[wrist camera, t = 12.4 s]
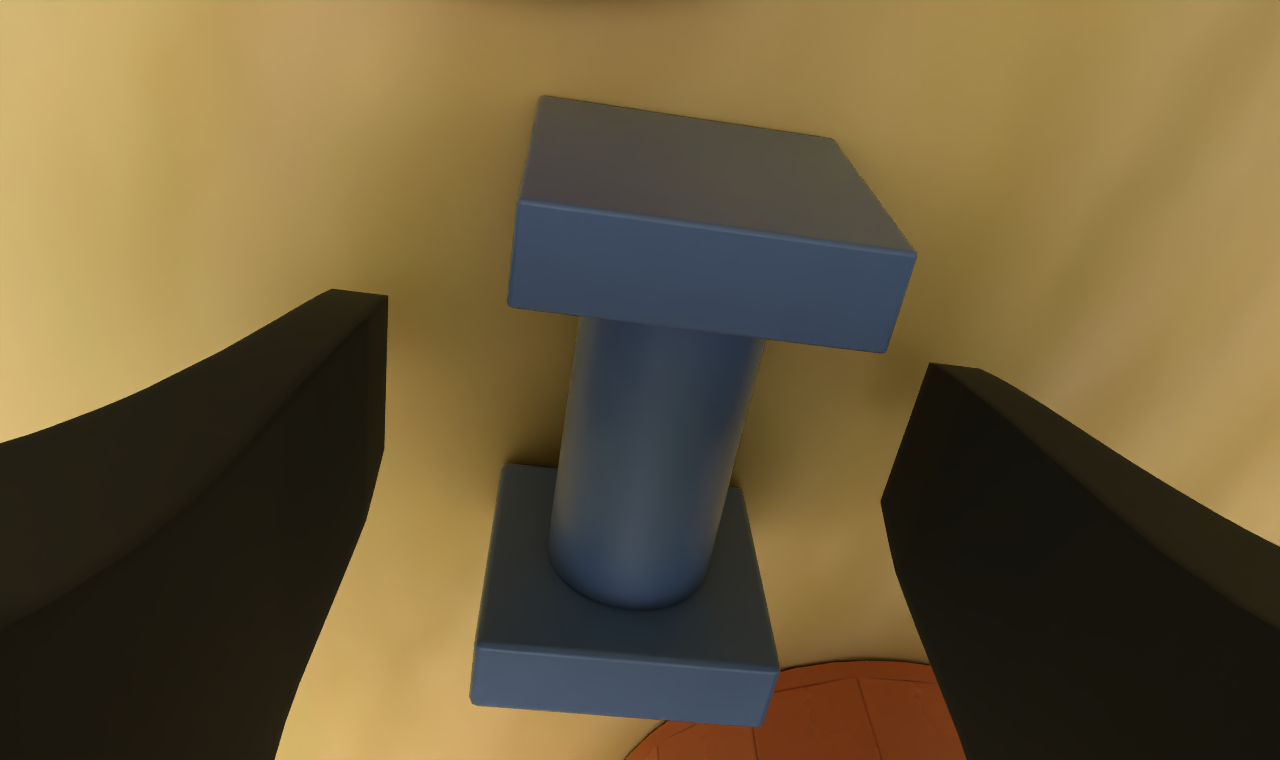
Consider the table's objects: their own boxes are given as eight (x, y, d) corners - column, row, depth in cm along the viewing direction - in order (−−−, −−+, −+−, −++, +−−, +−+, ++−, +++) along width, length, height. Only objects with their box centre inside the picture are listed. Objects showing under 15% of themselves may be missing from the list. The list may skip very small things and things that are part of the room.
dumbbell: (540, 94, 11) (516, 198, 8) (834, 137, 11) (920, 253, 8) (496, 516, 14) (468, 708, 11) (729, 539, 14) (764, 731, 11)
